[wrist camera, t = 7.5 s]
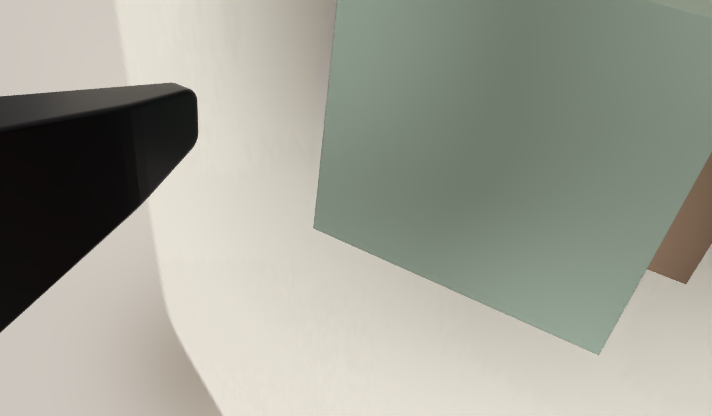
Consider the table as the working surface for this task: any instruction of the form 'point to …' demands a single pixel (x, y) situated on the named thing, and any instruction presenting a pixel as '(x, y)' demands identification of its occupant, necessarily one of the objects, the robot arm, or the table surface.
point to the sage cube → (517, 146)
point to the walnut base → (688, 232)
